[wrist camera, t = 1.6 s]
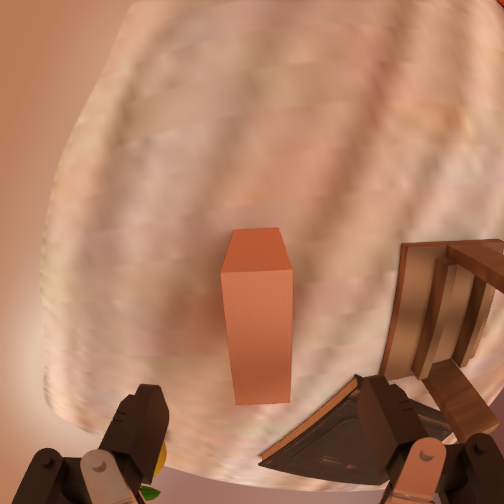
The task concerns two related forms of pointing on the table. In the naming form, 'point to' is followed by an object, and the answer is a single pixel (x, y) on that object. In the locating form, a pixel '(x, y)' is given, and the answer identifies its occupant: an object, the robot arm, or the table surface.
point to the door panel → (258, 315)
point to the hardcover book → (340, 441)
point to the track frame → (445, 324)
